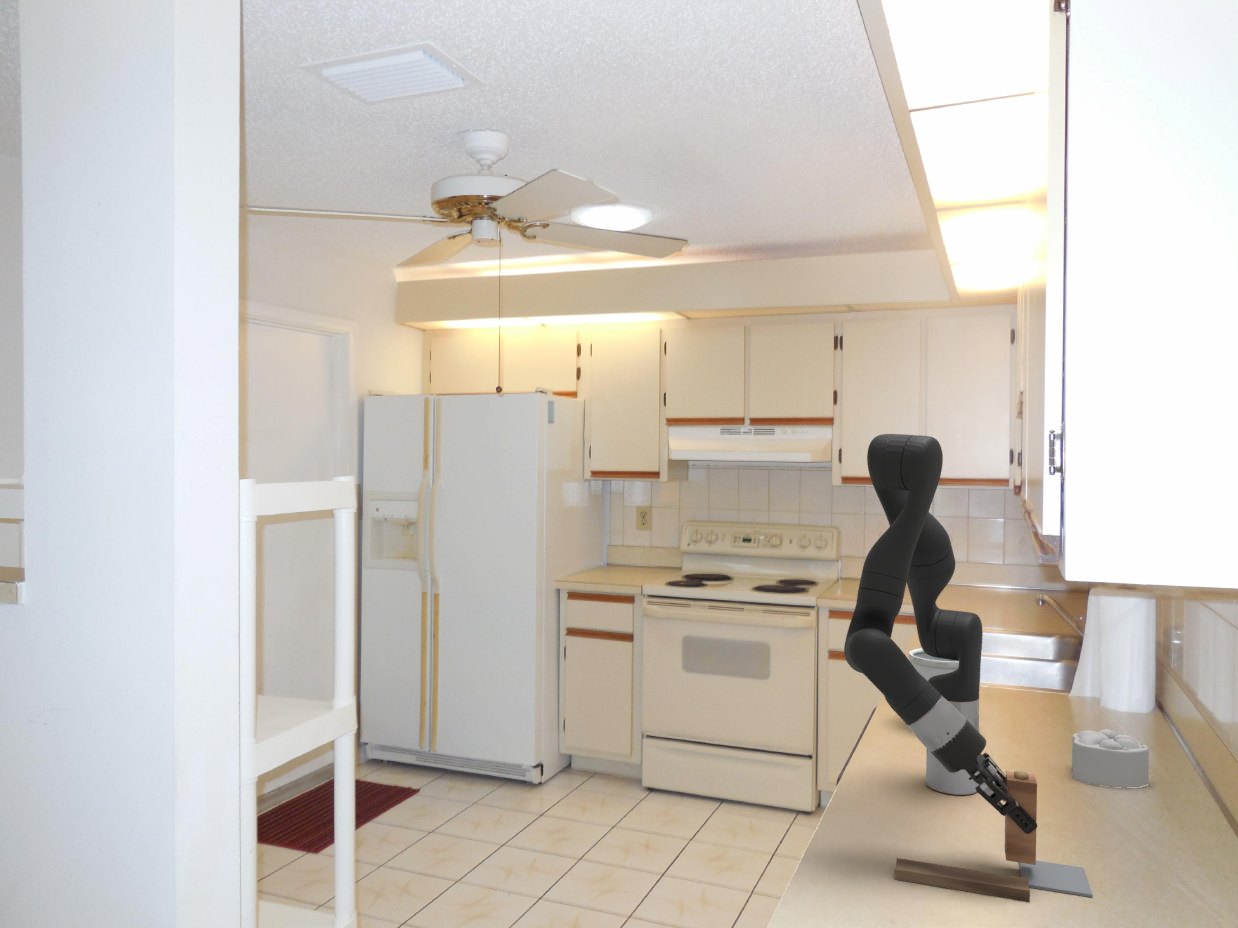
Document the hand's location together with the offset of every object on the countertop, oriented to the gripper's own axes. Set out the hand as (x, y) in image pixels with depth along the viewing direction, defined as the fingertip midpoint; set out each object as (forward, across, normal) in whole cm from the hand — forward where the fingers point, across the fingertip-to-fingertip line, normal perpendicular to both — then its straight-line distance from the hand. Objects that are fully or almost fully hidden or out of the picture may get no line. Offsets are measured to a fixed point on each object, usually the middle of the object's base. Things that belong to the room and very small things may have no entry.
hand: (1031, 823), depth 134 cm
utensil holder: (-4, +71, +15) cm, 73 cm away
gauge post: (+3, 0, +5) cm, 6 cm away
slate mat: (+8, 0, +3) cm, 8 cm away
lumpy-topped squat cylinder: (+18, +50, -7) cm, 54 cm away
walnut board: (-1, -7, +12) cm, 14 cm away
